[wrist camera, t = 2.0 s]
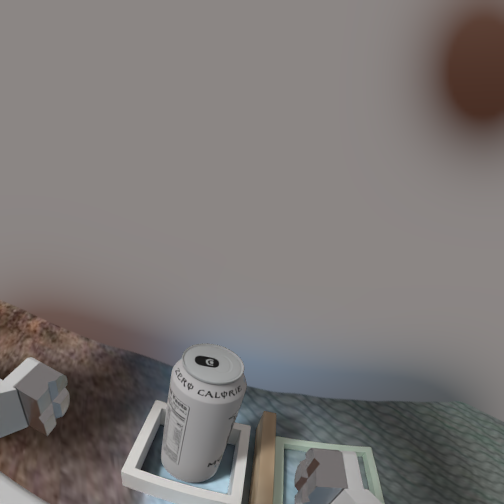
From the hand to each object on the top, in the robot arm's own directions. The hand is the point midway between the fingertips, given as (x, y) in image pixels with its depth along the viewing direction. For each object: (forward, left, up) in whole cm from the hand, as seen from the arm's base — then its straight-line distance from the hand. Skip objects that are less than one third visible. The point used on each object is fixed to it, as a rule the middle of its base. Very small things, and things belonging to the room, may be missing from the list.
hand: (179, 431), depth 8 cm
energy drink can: (0, +13, -22) cm, 26 cm away
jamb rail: (+8, +13, -22) cm, 26 cm away
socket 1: (0, +13, -22) cm, 25 cm away
